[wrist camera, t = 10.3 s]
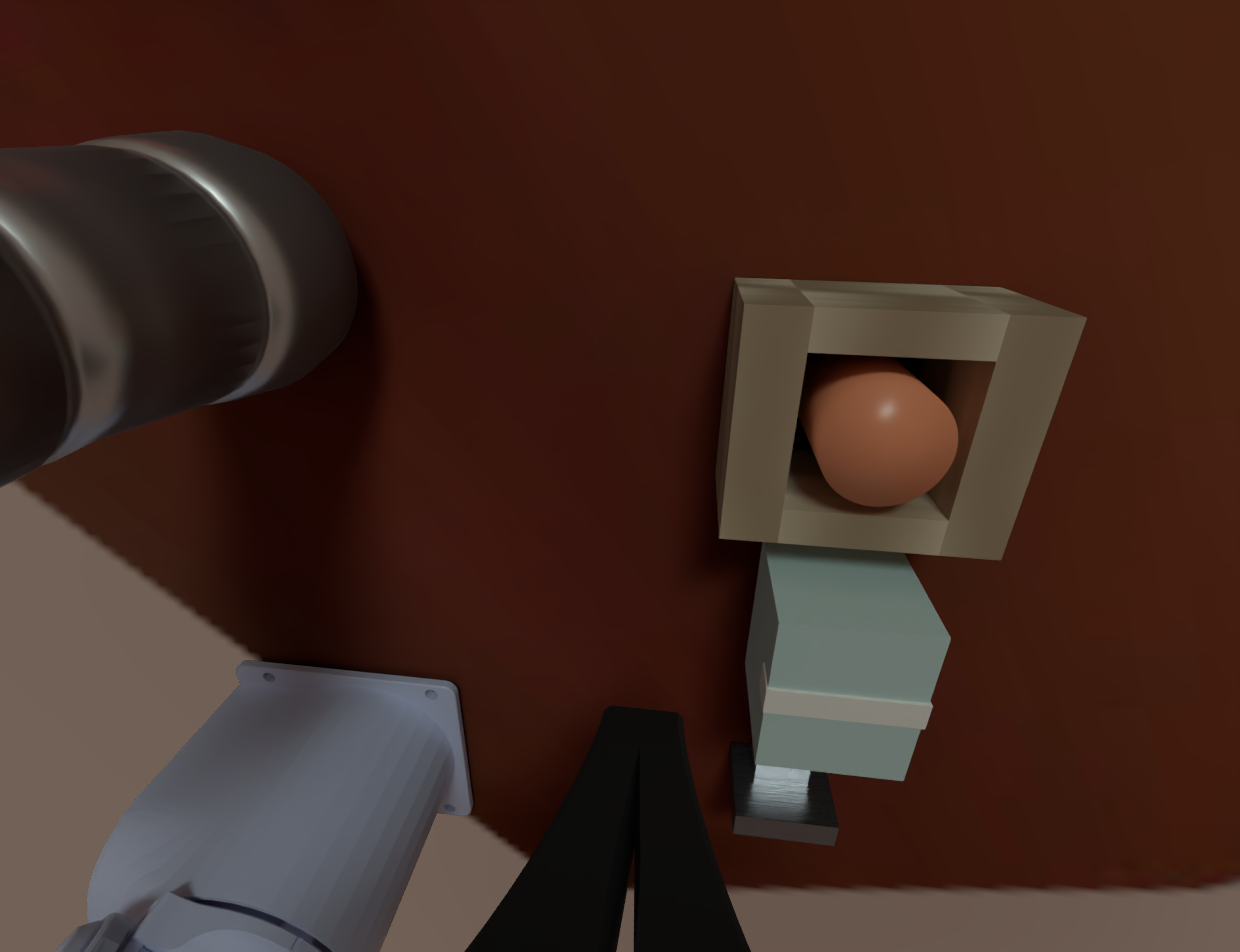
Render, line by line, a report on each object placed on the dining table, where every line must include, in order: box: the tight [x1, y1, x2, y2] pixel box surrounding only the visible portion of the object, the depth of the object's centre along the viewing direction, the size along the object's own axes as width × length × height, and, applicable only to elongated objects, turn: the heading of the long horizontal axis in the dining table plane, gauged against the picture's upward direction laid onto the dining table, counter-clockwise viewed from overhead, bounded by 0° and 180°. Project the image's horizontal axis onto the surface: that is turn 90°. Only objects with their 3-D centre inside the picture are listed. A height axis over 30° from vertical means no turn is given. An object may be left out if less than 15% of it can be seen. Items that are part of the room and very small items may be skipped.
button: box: [798, 353, 958, 507], centre depth 16 cm, size 3×3×4 cm
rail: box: [729, 740, 839, 846], centre depth 21 cm, size 4×13×3 cm, turn 179°
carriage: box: [745, 542, 951, 781], centre depth 17 cm, size 4×5×4 cm
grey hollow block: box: [715, 278, 1087, 560], centre depth 16 cm, size 7×6×4 cm
